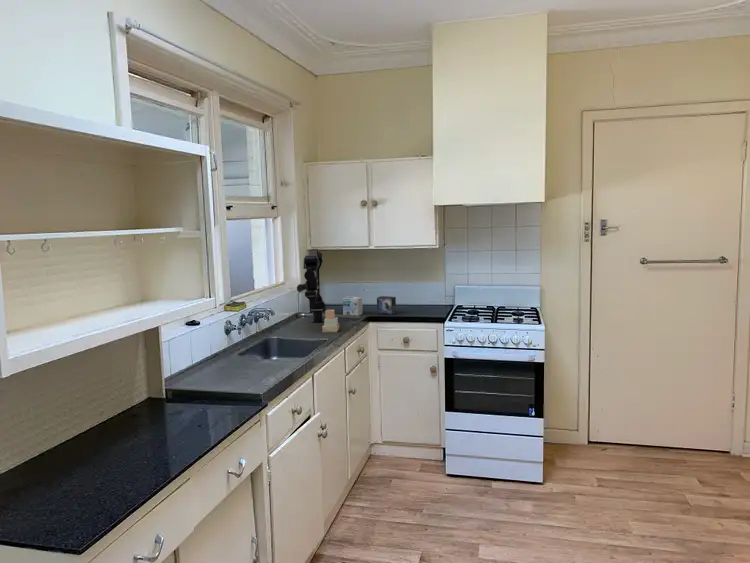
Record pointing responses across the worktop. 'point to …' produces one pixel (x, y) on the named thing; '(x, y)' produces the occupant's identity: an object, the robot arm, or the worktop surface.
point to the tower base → (330, 328)
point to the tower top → (331, 322)
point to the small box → (386, 305)
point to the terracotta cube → (330, 314)
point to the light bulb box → (352, 306)
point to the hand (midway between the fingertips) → (313, 306)
